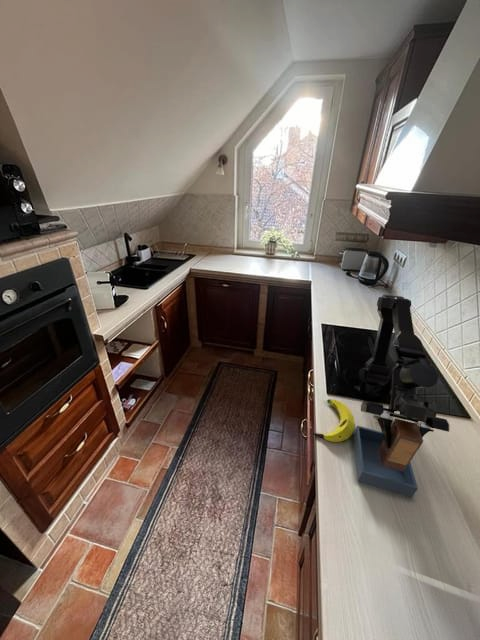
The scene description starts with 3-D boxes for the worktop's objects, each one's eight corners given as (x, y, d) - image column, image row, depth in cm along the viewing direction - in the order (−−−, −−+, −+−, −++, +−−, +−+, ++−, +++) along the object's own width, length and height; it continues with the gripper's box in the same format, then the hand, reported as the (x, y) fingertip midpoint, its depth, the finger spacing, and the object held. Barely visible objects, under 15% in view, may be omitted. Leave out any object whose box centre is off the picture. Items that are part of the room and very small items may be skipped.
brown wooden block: (378, 448, 70) (395, 417, 64) (398, 453, 69) (417, 423, 63) (382, 466, 66) (399, 435, 59) (403, 472, 65) (423, 441, 58)
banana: (344, 393, 92) (302, 397, 93) (365, 433, 77) (316, 438, 78) (343, 402, 94) (303, 407, 95) (364, 443, 79) (316, 448, 80)
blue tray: (352, 435, 82) (356, 425, 80) (397, 447, 79) (403, 437, 77) (357, 482, 70) (362, 471, 67) (410, 498, 66) (418, 488, 64)
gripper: (376, 378, 62) (369, 446, 58) (465, 397, 57) (463, 471, 54) (363, 381, 72) (357, 438, 69) (437, 396, 68) (435, 459, 64)
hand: (399, 451), depth 64 cm, fingers closed on brown wooden block, 5 cm apart
